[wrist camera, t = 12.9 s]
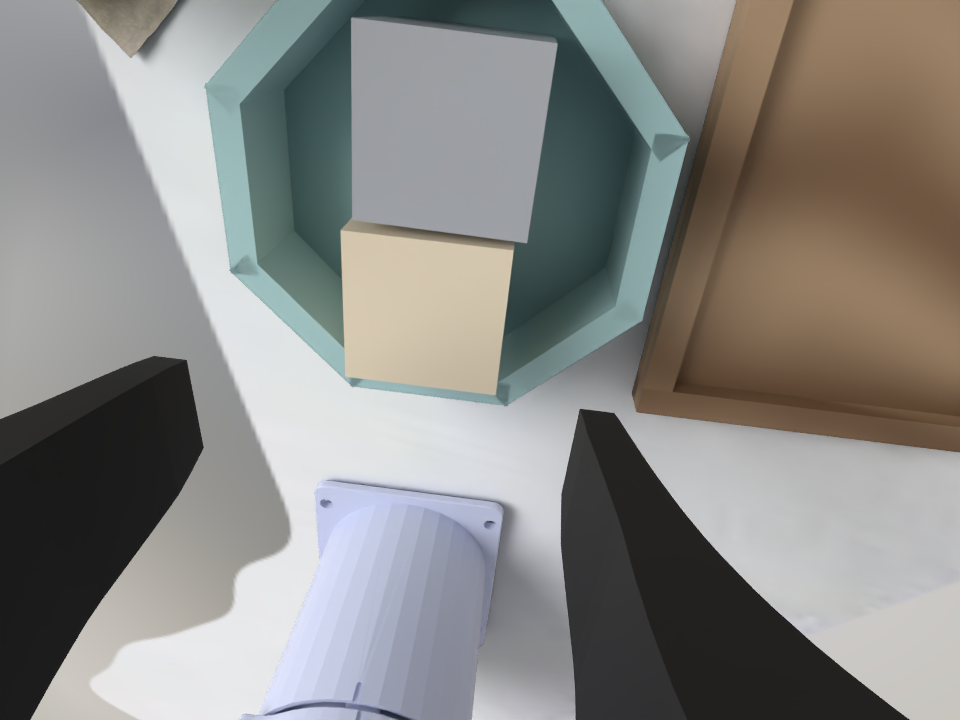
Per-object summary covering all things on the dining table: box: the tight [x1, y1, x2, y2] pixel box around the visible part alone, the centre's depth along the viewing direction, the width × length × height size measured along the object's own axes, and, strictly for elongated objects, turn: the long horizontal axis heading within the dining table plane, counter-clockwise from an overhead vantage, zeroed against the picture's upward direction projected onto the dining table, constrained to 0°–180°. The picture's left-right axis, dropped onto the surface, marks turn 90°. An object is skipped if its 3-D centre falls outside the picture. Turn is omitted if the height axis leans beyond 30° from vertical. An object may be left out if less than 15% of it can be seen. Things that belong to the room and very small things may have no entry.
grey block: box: [351, 16, 558, 243], centre depth 15 cm, size 4×4×5 cm
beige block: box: [341, 218, 515, 395], centre depth 17 cm, size 4×4×5 cm
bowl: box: [205, 0, 690, 406], centre depth 17 cm, size 12×12×4 cm
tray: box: [632, 0, 960, 452], centre depth 17 cm, size 15×12×1 cm
